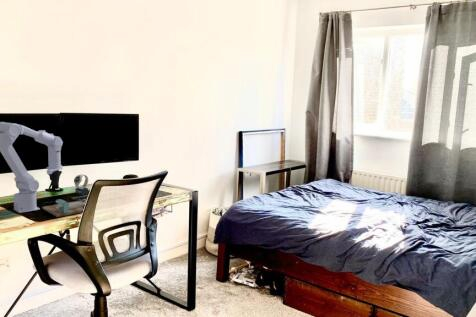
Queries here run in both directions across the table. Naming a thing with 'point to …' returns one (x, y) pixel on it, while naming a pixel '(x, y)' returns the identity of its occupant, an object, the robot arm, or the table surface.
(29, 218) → the table surface
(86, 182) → the watch
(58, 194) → the table surface
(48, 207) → the board
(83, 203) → the latch bar
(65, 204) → the block
